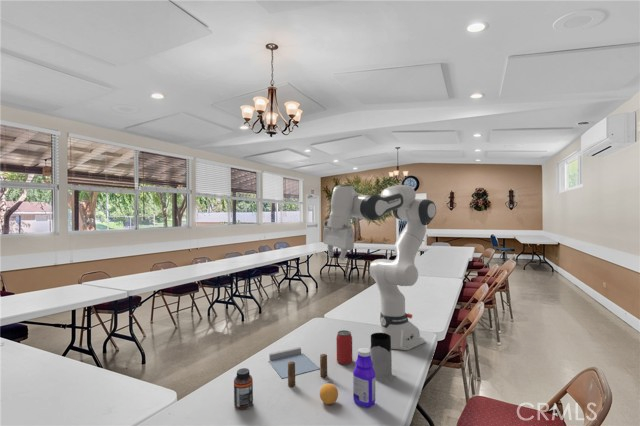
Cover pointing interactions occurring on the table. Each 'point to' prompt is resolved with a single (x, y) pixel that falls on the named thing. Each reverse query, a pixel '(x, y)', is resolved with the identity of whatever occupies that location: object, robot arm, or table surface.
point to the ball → (328, 393)
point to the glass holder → (381, 356)
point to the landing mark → (301, 365)
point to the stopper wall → (284, 353)
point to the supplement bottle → (243, 389)
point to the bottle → (364, 379)
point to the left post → (291, 374)
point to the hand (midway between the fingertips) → (335, 258)
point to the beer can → (344, 347)
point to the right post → (323, 366)
